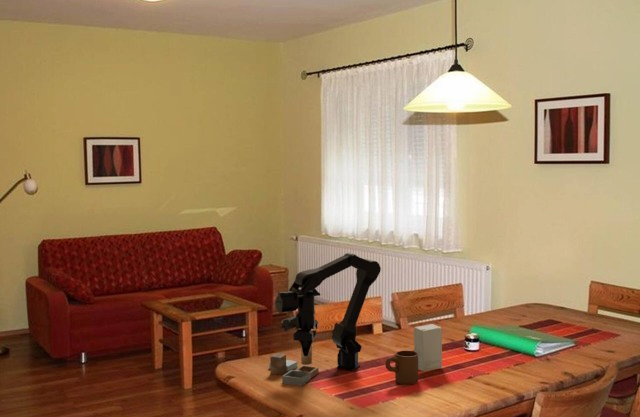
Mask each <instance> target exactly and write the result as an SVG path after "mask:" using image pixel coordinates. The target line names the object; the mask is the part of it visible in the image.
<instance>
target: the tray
mask: <svg viewBox="0 0 640 417" xmlns="http://www.w3.org/2000/svg"><path fill="white" fill-rule="evenodd" d="M281 377H282V378H281V381H282V382H281V383H282V384H283V385H284V384H285V385H291V386H296V385H297V386H298V387H302V386H304V385H305V384H307V383H308V382H310V381H311V380H312V378H311V372H304V371H296V369H293V370H291V371H289V372H285V373H284V374H282V375H281ZM297 386H296V387H297Z"/></svg>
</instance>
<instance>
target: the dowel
mask: <svg viewBox="0 0 640 417" xmlns="http://www.w3.org/2000/svg"><path fill="white" fill-rule="evenodd" d="M300 347H301V350H300V351H301V354H300V355H301V356H300V357H301V358H300V360H301V362H300V363H301V364H302V365H305V366H310V365H311V364H312V363H313V343H312V344H311V347H310V350H309V353H308V356H304V354H303V350H302V346H301V345H300Z"/></svg>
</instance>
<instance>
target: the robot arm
mask: <svg viewBox="0 0 640 417" xmlns="http://www.w3.org/2000/svg"><path fill="white" fill-rule="evenodd" d="M351 267H352V268H354V269H356V272H355V275H356V276H355V277H356V283H355V286H354V288H353V290H352V294H351V297H350V299H349V302H348V304H347V308H346V310H345V313H344V316H343V318H342V320H341V321H340V322H339V323H338V322H334V326H333V330H332V331H331V334H332V335H331V340H332V342H333V343H334V344H335V345H336V348H337V349H338V353H337V356H336V357H337V359H336V360H337V361H336V362H337V366H336V369H340V370H347V371H348V370H349V371H355V370H357V369H358V368H359V367H360V366H361V364H360V363H359V353H361V350H362V345H361V344H360V343H359V342H358V341H357V340H356V339H357V322H358V320H359V317H360V314H361V313H362V312H361V311H362V308H363V306H364V303H365V300H366V297H367V295H368V292H369V290H370V287H371V286H372V285H373V283H374V282H375V281H377V279H378V277H379V275H380V273H381V271H382V270H381V269H382V268H381V266H380V264H379V262H378V261H376V260H373V259H367V258H362V257H360V256H359V255H356V254H354V253H351V252H347V253H344V254H343V255H341V256H339V257H338V258H336V259H334V260H331V261H329V262H328V263H326V264H323V265H322V266H319V267H317V268H312V269H306V270H303V271H302V270H301V271H299V273H297V274H296V275H295V278H294V281H293V283H292V284H291V286H290V288H289V289H288V291H278V292H277V296H276V298H275V303H274V304H275V309H276V311H277V312H278V313H279V314H281V313H288V312H295V311H297V312H296V314H295V315H292V316H290V317H288V318H283V319H282V320H281V322H280V325H281V327H280V328H281V329H282V330H283V332H288V330H291V329H294V328H295V329H296V330H295V331H294V333H293V337H292V338H293V341H298V342H300V347H301V346H302V350H303V354H304V356H308V353H309V350H310V347H311V344H312V345H313V343H314V341H315V340H314V339H315V338H316V335H317V332H318V331H317V329H319V321H318V320H317V319H316V318H315V316H316V310H315V297H318V296H321V293H320V292H319V291H318V290H317V289H316V288H318V287H319V286H320V285H321V284H322V283H323V282H324V281H325V280H326V279H328V278H330V277H333V276H334V275H336V274H338V273H340V272H342V271H344V270H347V269H348V268H351Z"/></svg>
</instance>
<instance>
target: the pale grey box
mask: <svg viewBox="0 0 640 417" xmlns="http://www.w3.org/2000/svg"><path fill="white" fill-rule="evenodd" d="M298 366H299V365H298V361H295V360H291V359H290V360H289V359H286V371H288V372H289V371H291V370H296V369H298V368H299V367H298ZM268 367H269V369H270V362H268ZM288 372H287V373H288Z"/></svg>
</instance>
